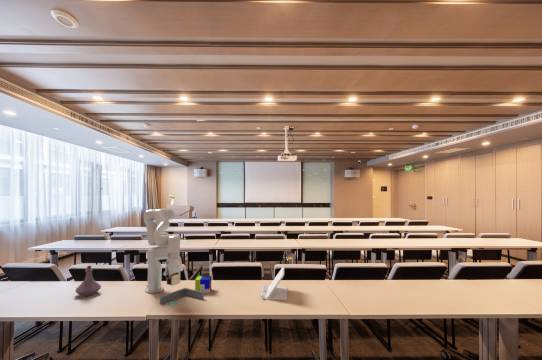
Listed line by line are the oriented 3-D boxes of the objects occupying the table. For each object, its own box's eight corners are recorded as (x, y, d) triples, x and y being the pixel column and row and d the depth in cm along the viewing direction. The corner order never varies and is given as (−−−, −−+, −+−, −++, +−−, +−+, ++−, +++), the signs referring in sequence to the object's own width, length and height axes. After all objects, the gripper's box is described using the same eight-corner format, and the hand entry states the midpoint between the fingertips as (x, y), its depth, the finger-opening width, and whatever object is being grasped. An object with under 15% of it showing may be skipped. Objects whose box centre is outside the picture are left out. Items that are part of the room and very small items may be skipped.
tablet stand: (287, 288, 216) (287, 265, 217) (287, 300, 191) (287, 274, 192) (263, 287, 217) (263, 265, 218) (260, 299, 192) (260, 274, 193)
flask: (79, 300, 191) (80, 270, 192) (70, 295, 201) (71, 266, 202) (105, 293, 204) (106, 265, 205) (96, 289, 214) (96, 262, 215)
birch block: (166, 284, 184) (166, 274, 184) (173, 281, 189) (174, 272, 189) (172, 285, 181) (172, 276, 181) (180, 283, 186) (180, 273, 186)
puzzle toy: (209, 293, 204) (209, 279, 204) (195, 294, 203) (195, 279, 204) (211, 289, 214) (211, 275, 214) (197, 289, 213) (198, 275, 214)
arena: (159, 304, 183) (160, 296, 184) (185, 294, 201) (185, 287, 202) (179, 310, 174) (179, 302, 174) (203, 299, 192) (203, 292, 192)
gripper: (166, 258, 177) (166, 287, 176) (187, 253, 191) (187, 280, 190) (158, 256, 180) (158, 285, 179) (180, 252, 195) (179, 278, 194)
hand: (173, 282), depth 185 cm, fingers closed on birch block, 6 cm apart
